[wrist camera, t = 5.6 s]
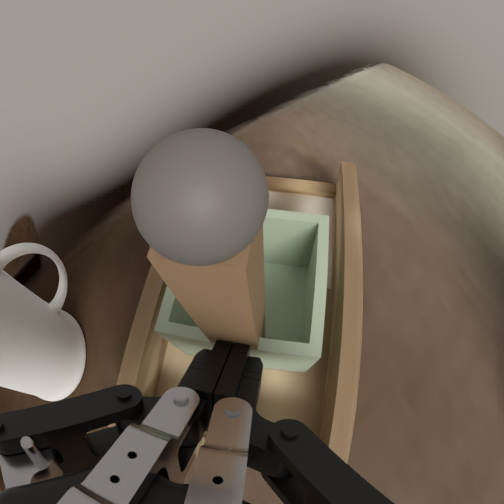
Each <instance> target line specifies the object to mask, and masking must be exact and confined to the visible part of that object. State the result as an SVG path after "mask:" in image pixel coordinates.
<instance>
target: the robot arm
mask: <svg viewBox="0 0 504 504" xmlns="http://www.w3.org/2000/svg"><path fill="white" fill-rule="evenodd" d="M262 371H263V363H262V361H261V359H260V358H259V357H252V356H250V345H245V344H238V343H234V344H233V343H232V342H226V341H220V340H217V341H216V343H215V345H214V347H213V349H212V350H209V349H203V350H201V351H200V352H198V353H197V354H196V355H195V357H194V358H193V360H192V362H191V364H190V365H189V368H188V369H187V371H186V372H185V374H184V376H183V377H182V379H181V381H180V383H179V384H178V386H177V387H174V388H171V389H169V390H167V391H166V392H165V393H164V394H163V396H161V397H148V396H142V394H141V391H140V390H139V389H138V388H137V387H135V386H133V385H129V384H120V385H116V386H113V387H110V388H106V389H103V390H99V391H96V392H92V393H89V394H85V395H81V396H78V397H74V398H70V399H66V400H62V401H58V402H54V403H49V404H45V405H41V406H36V407H32V408H27V409H22V410H17V411H12V412H6V413H1V414H0V465H1V470H2V475H3V479H4V483H5V487H6V489H5V490H4V491H2V492H1V493H0V504H250V503H248V502H246V501H244V500H243V492H244V483H245V475H246V467H250V468H252V469H254V470H257V471H259V472H261V475H262V477H263V478H264V480H265V481H266V482H267V483H268V485H269V486H270V487H271V488H272V490H273V491H274V492H275V493H276V495H277V496H278V497H279V498H280V499H281V500H282V502H283V503H284V504H394V503H393V502H392V501H390V500H389V499H388V498H386V497H385V496H384V495H383V494H382V493H380V492H379V491H378V490H377V489H375V488H374V487H373V486H372V485H371V484H369V483H368V482H367V481H366V480H365V479H364V478H362V477H361V476H360V475H359V474H358V473H357V472H356V471H354V470H353V469H352V468H351V467H350V466H349V465H348V464H346V463H345V462H344V461H343V460H342V459H341V458H340V457H339V456H338V455H337V454H335V453H334V452H333V451H332V450H331V449H330V448H329V447H328V446H327V445H326V444H325V443H324V442H323V441H322V440H321V439H319V438H318V437H317V436H316V435H315V434H314V433H313V432H312V431H311V430H310V429H309V428H308V427H307V426H306V425H305V424H304V423H302V422H300V421H298V420H294V419H282V420H279V421H276V422H275V423H274V422H271V421H269V420H267V419H265V418H263V417H262V416H260V415H259V414H258V412H257V411H256V407H257V402H258V397H259V393H260V387H261V379H262ZM113 423H115V424H116V426H113V427H110V428H107V429H103V430H100V431H97V432H94V433H90V434H86V433H87V432H88V431H91V430H94V429H97V428H101V427H104V426H107V425H110V424H113ZM205 431H207V434H206V438H205V442H204V445H201V444H202V438H203V435H204V432H205ZM197 453H198V455H197ZM196 455H197V458H196V462H195V466H194V469H193V473H192V477H191V480H190V484H184V479H185V476H186V474H187V472H188V470H189V468H190V466H191V464H192V462H193V460H194V459H195V457H196Z"/></svg>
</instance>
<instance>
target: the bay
mask: <svg viewBox="0 0 504 504" xmlns="http://www.w3.org/2000/svg"><path fill="white" fill-rule="evenodd" d="M266 179H267V182H268V190H269V201H268V209H274V210H284V211H292V212H301V213H309V214H318V215H326V216H329V247H328V272H327V291H326V306H325V319H324V331H323V342H322V352H321V358H320V359H319V360H318V361H317V362H316V363H315V364H314V365H313V366H311V367H310V368H309V369H308V370H307V371H306V372H305V373H301V372H291V371H283V370H275V369H267V368H263V371H262V379H261V387H260V393H259V397H258V402H257V407H256V411H257V412H258V414H259V415H260V416H262V417H263V418H265V419H267V420H269V421H271V422H274V423H275V422H276V421H279V420H282V419H294V420H298V421H300V422H302V423H304V424H305V425H306V426H307V427H308V428H309V429H310V430H311V431H312V432H313V433H314V434H315V435H316V436H317V437H318V438H319V439H321V440H322V441H323V442H324V443H325V444H326V445H327V446H328V447H329V448H330V449H331V450H332V451H333V452H334V453H335V454H337V455H338V456H339V457H340V458H341V459H342V460H343V461H344V462H345V463H346V464H347V463H348V458H349V452H350V446H351V440H352V433H353V426H354V419H355V411H356V403H357V394H358V384H359V373H360V360H361V343H362V318H363V260H362V235H361V218H360V204H359V193H358V182H357V173H356V164H355V163H351V162H345V161H341V165H340V170H339V174H338V178H337V182H336V184H332V183H325V182H317V181H309V180H300V179H291V178H281V177H271V176H266ZM166 287H167V285H166V283H165V282H164V281H163V279H162V278H161V276H160V275H159V274H158V272H157V271H156V269H155V268H154V267H153V265H152V264H151V267H150V270H149V273H148V276H147V279H146V282H145V285H144V288H143V291H142V294H141V297H140V301H139V304H138V307H137V310H136V314H135V317H134V320H133V324H132V327H131V331H130V334H129V338H128V341H127V345H126V349H125V352H124V356H123V360H122V364H121V368H120V372H119V376H118V380H117V385H120V384H129V385H133V386H135V387H137V388H138V389H139V390H140V391H141V394H142V396H148V397H161V396H163V394H164V393H165V392H166V391H167V390H169V389H171V388H174V387H177V386H178V384H179V383H180V381H181V379H182V377H183V376H184V374H185V372H186V371H187V369H188V368H189V365H190V364H191V362H192V360H193V358H194V357H195V356H193V355H188V354H185V353H183V352H182V351H181V350H179V349H178V348H177V347H175V346H174V345H173V344H171V343H170V342H169V341H167V340H166V339H165V338H163V337H162V336H161V335H159V334H158V333H157V332H156V331H154V329H155V326H156V322H157V318H158V315H159V311H160V308H161V304H162V301H163V297H164V294H165V291H166ZM113 426H116V424H115V423H113V424H110V425H108V427H113ZM206 434H207V431H205V432H204V435H203V438H202V444H201V445H204V442H205V438H206ZM197 455H198V453H197ZM197 455H196V456H197Z"/></svg>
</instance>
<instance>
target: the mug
mask: <svg viewBox="0 0 504 504" xmlns="http://www.w3.org/2000/svg"><path fill="white" fill-rule="evenodd" d="M30 253H38V254H43V255H46V256H48V257H49V258H51V259H52V260H53V261H54V262H55V264H56V265H57V268H58V271H59V285H58V289H57V292H56V295H55V297H54V299H53V300H52V301H51V302H50V303H49V304H48V303H47V302H45V301H44V300H42V299H41V298H40V297H38V296H37V295H35V294H34V293H32V292H31V291H30V290H28V289H27V288H26V287H24V286H23V285H22V284H20V283H19V282H18V281H16V280H15V279H14V278H12V277H11V276H10V275H8V274H7V273H6V272H5V271H3V268H4V267H5V266H6V265H7V264H8V263H9V262H10V261H12V260H13V259H15V258H17V257H19V256H21V255H25V254H30ZM67 287H68V280H67V273H66V270H65V267H64V265H63V263H62V261H61V260H60V258H59V257H58V256H57V255H56V254H55V253H54V252H53V251H52V250H50V249H49V248H47V247H45V246H43V245H40V244H36V243H20V244H15V245H12V246H9V247H7V248H5V249H3V250H1V251H0V386H1V387H5V388H8V389H12V390H16V391H20V392H24V393H28V394H32V395H35V396H37V397H39V398H41V399H44V400H47V401H58V400H61V399H64V398H66V397H67V396H69V395H70V394H71V393H72V392H73V391H74V390H75V388H76V387H77V386H78V384H79V382H80V380H81V378H82V375H83V372H84V368H85V363H86V345H85V339H84V336H83V333H82V330H81V328H80V326H79V324H78V323H77V321H76V320H75V319H74V318H73V317H72V316H71V315H70V314H68V313H67V312H65V311H63V310H61V308H62V306H63V304H64V301H65V298H66V294H67Z"/></svg>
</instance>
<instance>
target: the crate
mask: <svg viewBox="0 0 504 504" xmlns="http://www.w3.org/2000/svg"><path fill="white" fill-rule="evenodd" d="M268 201H269V190H268V182H267V179H266V175H265V172H264V169H263V167H262V165H261V163H260V162H259V160H258V158H257V157H256V156H255V154H254V153H253V152H252V151H251V149H250V148H249V147H248V146H246V145H245V144H244V143H243V142H242V141H240V140H239V139H237V138H235V137H234V136H232V135H230V134H228V133H225V132H222V131H218V130H214V129H208V128H195V129H188V130H183V131H180V132H177V133H174V134H172V135H170V136H168V137H166V138H164V139H163V140H161V141H160V142H158V143H157V144H156V145H155V146H154V147H153V148H152V149H151V150H150V151H149V152H148V153H147V154H146V155H145V157H144V158H143V160H142V161H141V163H140V165H139V166H138V168H137V171H136V173H135V177H134V179H133V182H132V189H131V209H132V213H133V217H134V221H135V223H136V226H137V228H138V230H139V232H140V234H141V235H142V237H143V238H144V239H145V241H146V242H147V243H148V244H149V245H150V249H149V252H148V254H147V258H148V259H149V261H150V262H151V264H152V265H153V267H154V268H155V269H156V271H157V272H158V274H159V275H160V276H161V278H162V279H163V281H164V282H165V283H166V285H167V287H166V291H165V294H164V297H163V301H162V304H161V308H160V311H159V315H158V318H157V322H156V326H155V329H154V331H156V332H157V333H158V334H159V335H161V336H162V337H163V338H165V339H166V340H167V341H169V342H170V343H171V344H173V345H174V346H175V347H177V348H178V349H179V350H181V351H182V352H183V353H185V354H188V355H193V356H195V355H196V354H197V353H198V352H200V351H201V350H203V349H209V350H212V349H213V347H214V345H215V343H216V341H217V340H220V341H226V342H232V343H233V344H234V343H238V344H245V345H250V356H252V357H259V358H260V359H261V361H262V363H263V368H267V369H275V370H283V371H291V372H301V373H305V372H306V371H307V370H308V369H309V368H310V367H311V366H313V365H314V364H315V363H316V362H317V361H318V360H319V359H320V358H321V352H322V342H323V331H324V319H325V306H326V291H327V272H328V247H329V216H326V215H318V214H309V213H301V212H292V211H284V210H274V209H268Z"/></svg>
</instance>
